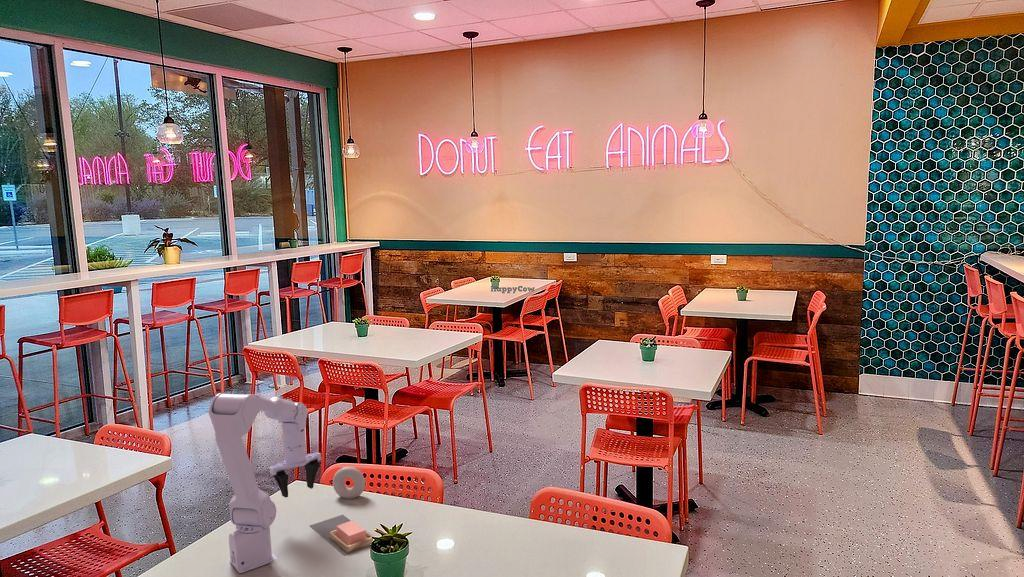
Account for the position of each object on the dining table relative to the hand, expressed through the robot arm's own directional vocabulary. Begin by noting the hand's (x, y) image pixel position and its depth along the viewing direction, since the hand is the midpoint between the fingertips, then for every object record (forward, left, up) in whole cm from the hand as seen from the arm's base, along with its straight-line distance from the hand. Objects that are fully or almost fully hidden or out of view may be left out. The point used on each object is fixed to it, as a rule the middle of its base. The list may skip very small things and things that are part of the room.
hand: (297, 491), depth 188 cm
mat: (+6, -15, -9) cm, 19 cm away
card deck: (+6, -20, -8) cm, 22 cm away
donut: (+18, +6, -10) cm, 21 cm away
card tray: (+6, -20, -9) cm, 23 cm away
